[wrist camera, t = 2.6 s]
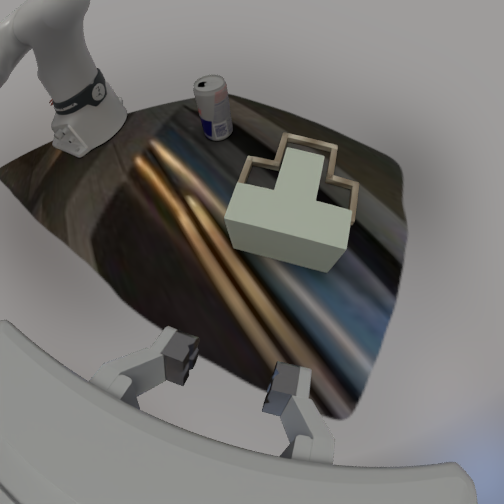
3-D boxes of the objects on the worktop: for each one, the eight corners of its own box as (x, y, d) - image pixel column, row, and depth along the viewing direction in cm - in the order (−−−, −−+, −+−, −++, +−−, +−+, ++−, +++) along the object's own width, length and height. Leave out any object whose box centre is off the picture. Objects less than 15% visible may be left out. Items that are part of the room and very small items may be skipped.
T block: (233, 248, 40) (223, 218, 31) (256, 181, 44) (253, 140, 34) (327, 272, 38) (346, 249, 29) (340, 202, 42) (357, 165, 32)
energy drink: (207, 122, 49) (196, 75, 38) (234, 122, 49) (228, 73, 37) (202, 141, 47) (188, 93, 36) (230, 141, 47) (222, 91, 35)
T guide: (234, 195, 43) (234, 191, 42) (259, 132, 47) (259, 127, 46) (352, 225, 40) (354, 222, 39) (359, 156, 45) (361, 152, 44)
